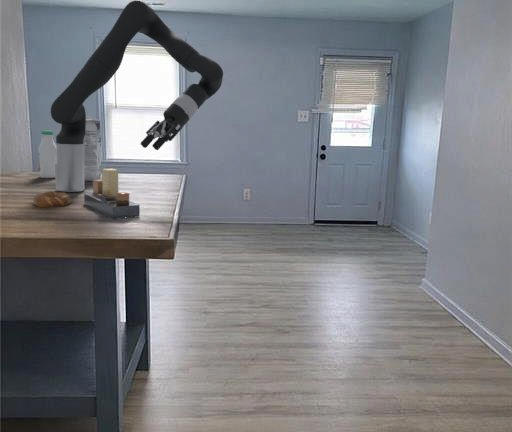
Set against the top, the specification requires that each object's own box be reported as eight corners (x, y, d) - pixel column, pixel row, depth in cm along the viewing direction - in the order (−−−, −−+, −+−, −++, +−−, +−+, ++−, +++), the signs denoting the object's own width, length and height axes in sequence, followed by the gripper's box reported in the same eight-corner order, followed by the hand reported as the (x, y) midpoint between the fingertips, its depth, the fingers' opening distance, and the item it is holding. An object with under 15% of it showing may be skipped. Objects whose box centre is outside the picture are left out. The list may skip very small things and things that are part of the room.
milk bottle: (62, 177, 202) (61, 131, 198) (49, 179, 195) (47, 131, 190) (48, 175, 204) (46, 130, 200) (35, 177, 197) (32, 130, 193)
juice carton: (95, 181, 194) (94, 116, 188) (71, 180, 194) (69, 115, 188) (103, 179, 203) (102, 116, 197) (79, 177, 203) (77, 115, 197)
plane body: (84, 204, 147) (83, 179, 146) (108, 202, 152) (108, 178, 151) (112, 219, 129) (112, 191, 128) (139, 216, 134) (139, 189, 132)
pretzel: (53, 210, 139) (52, 198, 138) (24, 206, 142) (23, 194, 141) (79, 203, 150) (79, 192, 149) (51, 199, 153) (51, 188, 152)
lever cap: (102, 198, 141) (102, 168, 139) (113, 197, 143) (113, 168, 141) (108, 200, 137) (107, 170, 136) (119, 199, 140) (119, 170, 138)
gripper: (163, 102, 153) (130, 137, 148) (185, 102, 142) (150, 140, 137) (177, 119, 157) (146, 153, 152) (199, 120, 146) (166, 157, 141)
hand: (148, 147), depth 145 cm, fingers open, 8 cm apart
